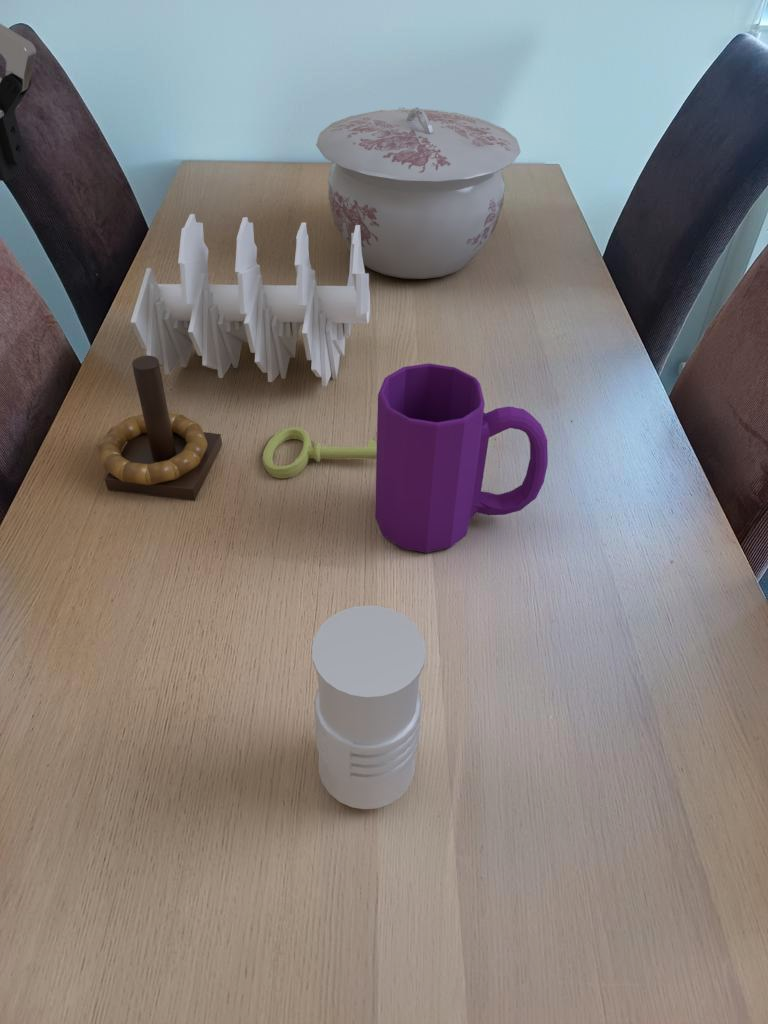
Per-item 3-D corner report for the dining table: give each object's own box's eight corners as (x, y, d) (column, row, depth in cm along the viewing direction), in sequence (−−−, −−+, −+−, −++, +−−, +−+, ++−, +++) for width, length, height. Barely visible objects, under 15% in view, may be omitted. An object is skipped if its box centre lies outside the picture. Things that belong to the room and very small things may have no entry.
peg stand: (107, 490, 80) (77, 383, 71) (141, 435, 86) (117, 332, 78) (195, 500, 79) (175, 394, 70) (222, 445, 85) (207, 341, 77)
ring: (84, 481, 78) (80, 465, 77) (125, 419, 86) (121, 404, 85) (188, 493, 77) (185, 478, 76) (220, 429, 85) (217, 414, 84)
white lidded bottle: (298, 793, 57) (286, 664, 46) (352, 721, 61) (352, 588, 51) (381, 844, 54) (387, 719, 44) (431, 765, 58) (447, 634, 48)
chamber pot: (450, 323, 105) (464, 160, 91) (282, 269, 116) (271, 115, 102) (536, 246, 123) (559, 100, 109) (384, 206, 133) (387, 67, 119)
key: (385, 467, 83) (385, 451, 82) (265, 482, 81) (264, 465, 80) (371, 427, 88) (371, 411, 87) (259, 439, 86) (257, 423, 85)
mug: (373, 490, 81) (376, 362, 70) (526, 489, 81) (551, 361, 71) (376, 556, 74) (380, 425, 64) (543, 554, 75) (573, 423, 64)
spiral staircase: (181, 370, 103) (375, 374, 101) (128, 390, 86) (360, 395, 84) (171, 218, 98) (376, 220, 96) (113, 208, 81) (360, 210, 79)
